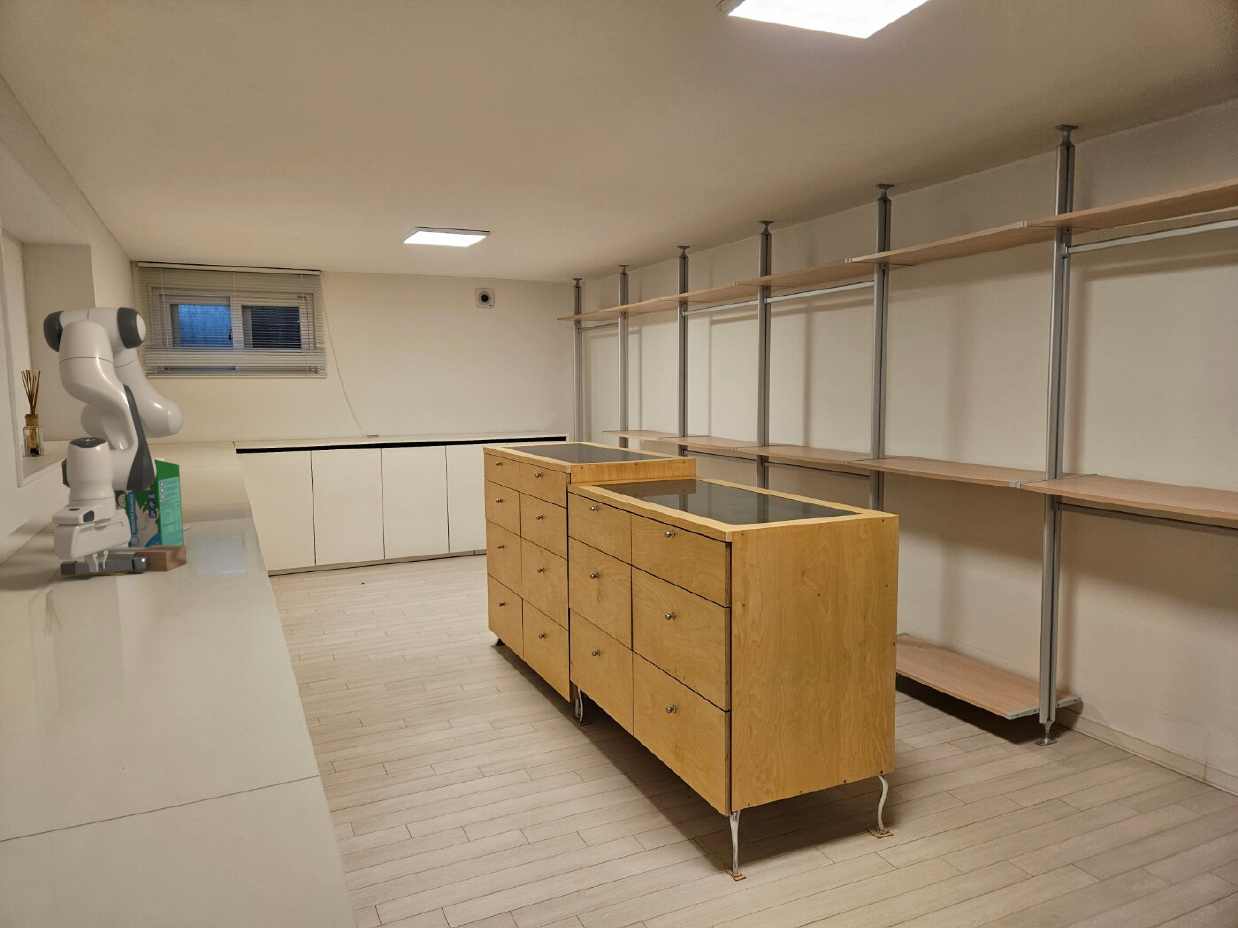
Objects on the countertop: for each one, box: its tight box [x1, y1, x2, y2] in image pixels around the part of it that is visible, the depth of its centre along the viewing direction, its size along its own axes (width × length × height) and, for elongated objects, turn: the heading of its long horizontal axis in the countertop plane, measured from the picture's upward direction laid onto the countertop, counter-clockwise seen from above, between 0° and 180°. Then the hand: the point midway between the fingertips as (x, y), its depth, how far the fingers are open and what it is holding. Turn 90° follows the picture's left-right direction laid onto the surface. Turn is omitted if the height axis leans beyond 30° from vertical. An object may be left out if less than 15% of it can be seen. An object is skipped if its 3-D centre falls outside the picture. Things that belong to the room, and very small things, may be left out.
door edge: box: [84, 544, 188, 572], centre depth 198 cm, size 8×20×4 cm, turn 86°
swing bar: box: [59, 555, 148, 576], centre depth 189 cm, size 17×3×3 cm, turn 110°
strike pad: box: [75, 569, 135, 576], centre depth 192 cm, size 4×12×1 cm, turn 86°
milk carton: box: [125, 456, 185, 548], centre depth 211 cm, size 9×9×25 cm
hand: (97, 570), depth 187 cm, fingers closed
